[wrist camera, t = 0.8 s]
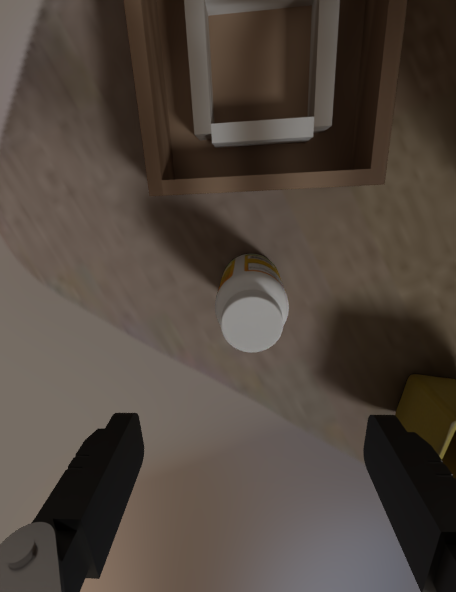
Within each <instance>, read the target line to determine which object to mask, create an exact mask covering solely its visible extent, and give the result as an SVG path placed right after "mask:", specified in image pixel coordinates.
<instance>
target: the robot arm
mask: <svg viewBox="0 0 456 592" xmlns="http://www.w3.org/2000/svg"><path fill="white" fill-rule="evenodd" d="M143 457H144V444H143V437H142V432H141V426H140V421H139V416H138V414H137V413H115V414H114V415H113V416H112V417H111V419H110V421H109V423H108V424H107V426H106V428H105V429H97V430H96V431H95V432H94V433H93V434H92V435H90V436H89V437H88V438H87V439H86V440H85V441H84V442H83V444H82V446H81V447H80V449H79V450H78V452H77V453H76V457H75V458H73V460H72V461H71V463H70V464H69V466H68V469H67V470H66V471H65V472H64V474H63V475H62V477H61V478H60V480H59V482H58V483H57V485H56V486H55V488H54V489H53V491H52V493H51V494H50V496H49V497H48V499H47V500H46V502H45V504H44V505H43V507H42V508H41V510H40V511H39V513H38V514H37V516H36V518H35V519H34V520H33V522H32V523H31V524H28V525H26V526H23V527H21V528H20V529H18V530H16V531H15V532H14V533H12V534H11V535H10V536H9V537H7V538H6V539H5V540H4V541H3V542H2V543H1V544H0V592H80V589H81V587H82V585H83V582H84V580H85V578H97V579H99V578H100V575H101V572H102V570H103V567H104V565H105V562H106V559H107V556H108V554H109V551H110V548H111V546H112V543H113V540H114V538H115V535H116V532H117V530H118V527H119V524H120V522H121V519H122V516H123V514H124V511H125V508H126V506H127V503H128V500H129V497H130V495H131V492H132V490H133V487H134V484H135V482H136V479H137V476H138V473H139V471H140V468H141V465H142V462H143ZM364 461H365V465H366V468H367V470H368V473H369V475H370V477H371V480H372V482H373V484H374V486H375V489H376V491H377V493H378V496H379V498H380V500H381V502H382V505H383V507H384V509H385V511H386V514H387V516H388V518H389V521H390V523H391V525H392V527H393V530H394V532H395V534H396V536H397V539H398V541H399V543H400V546H401V548H402V550H403V552H404V554H405V557H406V559H407V561H408V564H409V566H410V568H411V570H412V573H413V575H414V577H415V580H416V582H417V584H418V586H419V588H420V591H421V592H456V478H453V474H452V473H451V472H450V470H449V469H448V468H447V466H446V465H445V464H443V461H442V459H441V458H440V457H439V455H438V454H437V453H436V451H435V450H434V448H433V447H432V446H431V445H430V444H429V443H428V442H426V441H425V440H424V439H423V438H422V437H420V436H419V435H418V434H417V433H415V432H407V431H406V430H405V428H404V427H403V425H402V424H401V422H400V421H399V419H398V418H397V417H396V416H395V415H370V416H369V418H368V423H367V430H366V436H365V443H364Z"/></svg>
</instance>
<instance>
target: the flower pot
mask: <svg viewBox="0 0 456 592" xmlns="http://www.w3.org/2000/svg"><path fill="white" fill-rule="evenodd" d="M395 416H396V417H397V418H398V419H399V421H400V422H401V424H402V425H403V427H404V428H405V430H406V431H407V432H415V433H417V434H418V435H419V436H420V437H422V438H423V439H424V440H425V441H426V442H428V443H429V444H430V445H431V446H432V447H433V448H434V450H435V451H436V453H437V454H438V455H439V457H440V458H441V459H442V461H443V464H445V465H446V466H447V468H448V469H449V470H450V472H451V473H452V474H453V478H456V379H450V378H442V377H434V376H427V375H419V374H412V375H410V376H409V377H408V380H407V383H406V385H405V388H404V391H403V394H402V397H401V399H400V402H399V404H398V407H397V410H396V415H395Z"/></svg>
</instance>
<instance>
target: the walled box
mask: <svg viewBox="0 0 456 592" xmlns="http://www.w3.org/2000/svg"><path fill="white" fill-rule="evenodd" d="M407 2H408V0H124V7H125V15H126V22H127V30H128V38H129V45H130V53H131V60H132V68H133V75H134V83H135V90H136V98H137V105H138V113H139V120H140V128H141V136H142V143H143V151H144V158H145V166H146V173H147V181H148V188H149V196H164V195H184V194H204V193H223V192H243V191H263V190H282V189H302V188H322V187H341V186H361V185H381V184H385V176H386V169H387V161H388V153H389V145H390V137H391V129H392V121H393V113H394V105H395V97H396V89H397V81H398V73H399V65H400V57H401V49H402V42H403V34H404V26H405V18H406V10H407Z"/></svg>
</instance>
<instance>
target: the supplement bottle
mask: <svg viewBox="0 0 456 592" xmlns="http://www.w3.org/2000/svg"><path fill="white" fill-rule="evenodd" d="M288 311H289V303H288V298H287V294H286V292H285V289H284V287H283V284H282V281H281V278H280V276H279V273H278V271H277V269H276V267H275V265H274V264H273V263H272V262H271V261H270V260H269V259H267V258H266V257H264V256H261V255H258V254H244V255H241V256H238V257H236V258H235V259H233V260H232V261H231V262H230V263H229V264H228V265H227V267H226V269H225V270H224V273H223V276H222V279H221V283H220V286H219V289H218V293H217V296H216V301H215V313H216V317H217V320H218V322H219V324H220V325H221V330H222V333H223V335H224V337H225V339H226V340H227V342H228V343H229V344H230V345H232V346H233V347H234V348H236V349H238V350H241V351H244V352H260V351H263V350H266V349H268V348H270V347H271V346H272V345H274V344H275V343H276V342H277V340H278V339H279V337H280V336H281V333H282V330H283V325H284V324H285V322H286V319H287V317H288Z"/></svg>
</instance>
